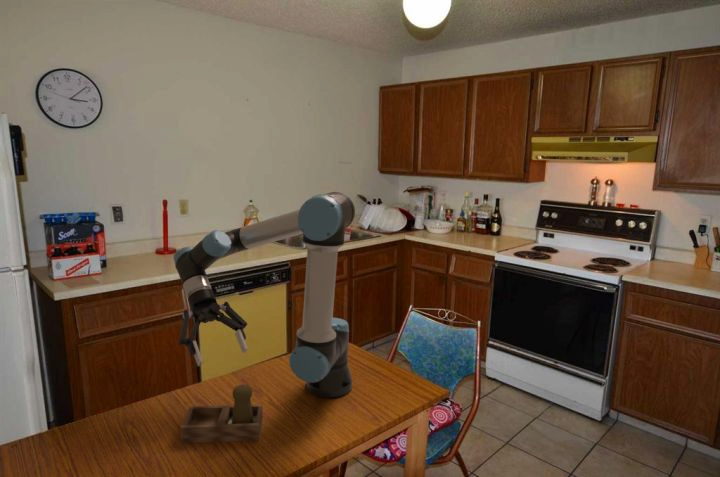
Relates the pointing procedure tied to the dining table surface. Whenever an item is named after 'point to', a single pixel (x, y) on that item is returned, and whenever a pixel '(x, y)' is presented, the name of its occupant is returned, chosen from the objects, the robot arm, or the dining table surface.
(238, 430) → the stand
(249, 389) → the cork
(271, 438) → the dining table surface
